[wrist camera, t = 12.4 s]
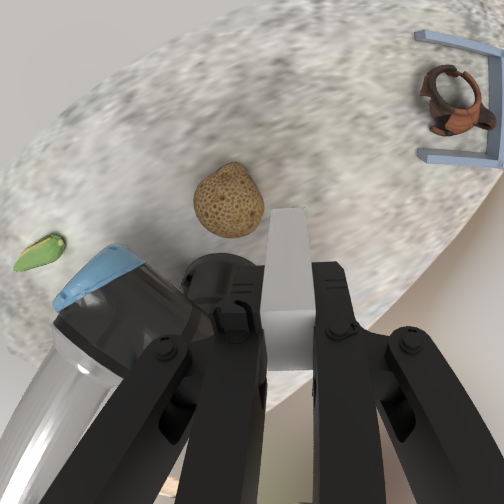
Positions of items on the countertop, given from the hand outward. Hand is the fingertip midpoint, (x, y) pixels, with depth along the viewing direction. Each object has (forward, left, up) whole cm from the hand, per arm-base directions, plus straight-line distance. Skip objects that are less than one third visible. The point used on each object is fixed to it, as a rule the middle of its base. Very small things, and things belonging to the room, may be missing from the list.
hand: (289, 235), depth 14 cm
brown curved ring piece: (+4, -23, -29) cm, 37 cm away
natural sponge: (-8, +8, -29) cm, 31 cm away
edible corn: (-16, +51, -29) cm, 60 cm away
